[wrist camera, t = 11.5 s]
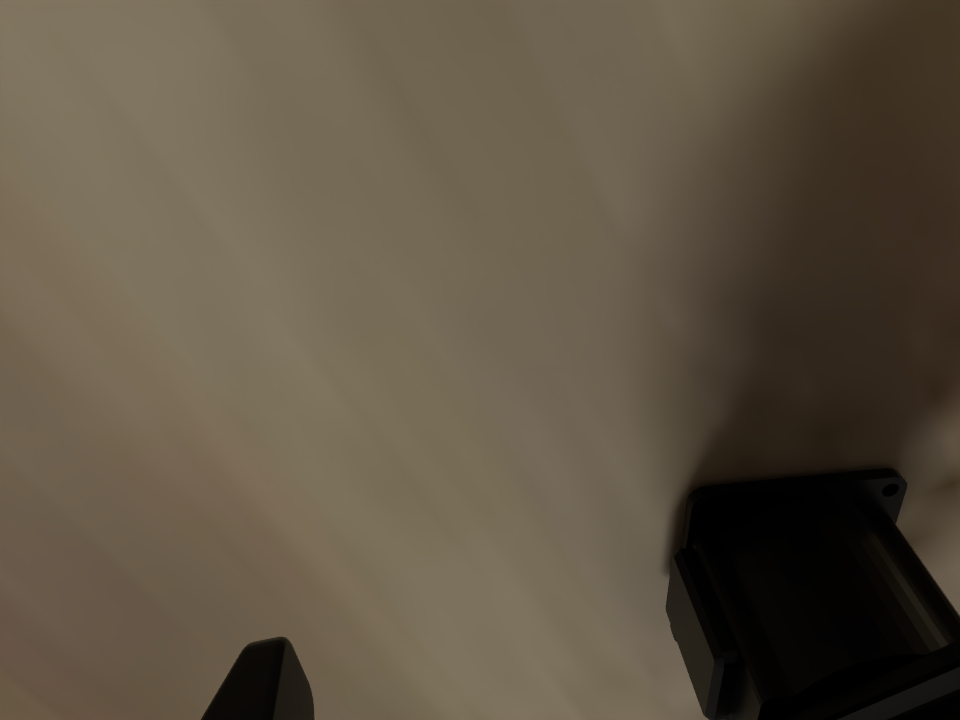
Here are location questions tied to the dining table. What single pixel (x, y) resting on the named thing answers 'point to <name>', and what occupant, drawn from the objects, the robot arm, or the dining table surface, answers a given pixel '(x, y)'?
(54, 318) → the dining table surface
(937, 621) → the robot arm
